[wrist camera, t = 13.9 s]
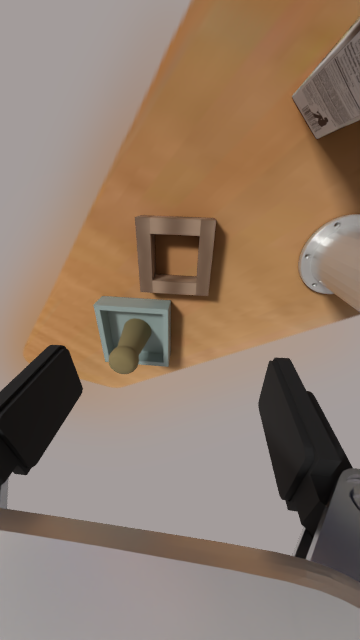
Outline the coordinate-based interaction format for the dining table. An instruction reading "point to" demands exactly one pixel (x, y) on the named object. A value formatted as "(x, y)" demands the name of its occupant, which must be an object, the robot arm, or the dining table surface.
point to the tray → (122, 309)
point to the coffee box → (333, 87)
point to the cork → (130, 346)
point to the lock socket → (174, 226)
